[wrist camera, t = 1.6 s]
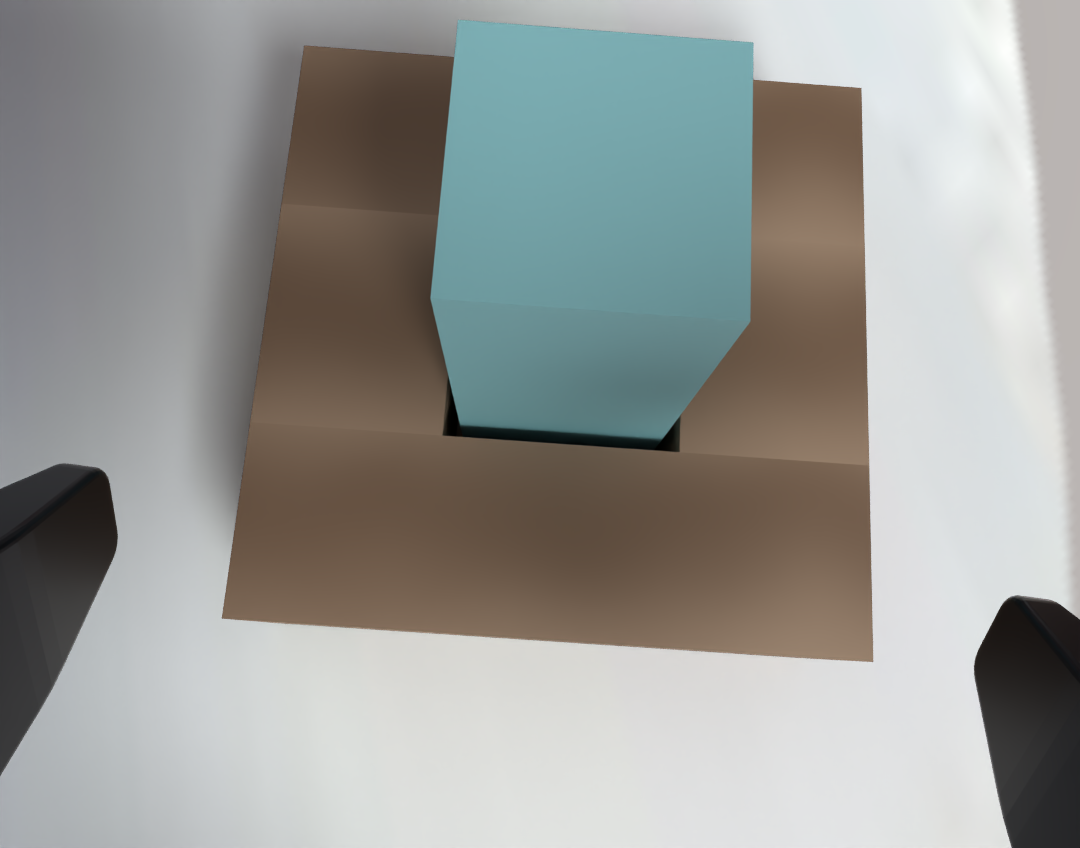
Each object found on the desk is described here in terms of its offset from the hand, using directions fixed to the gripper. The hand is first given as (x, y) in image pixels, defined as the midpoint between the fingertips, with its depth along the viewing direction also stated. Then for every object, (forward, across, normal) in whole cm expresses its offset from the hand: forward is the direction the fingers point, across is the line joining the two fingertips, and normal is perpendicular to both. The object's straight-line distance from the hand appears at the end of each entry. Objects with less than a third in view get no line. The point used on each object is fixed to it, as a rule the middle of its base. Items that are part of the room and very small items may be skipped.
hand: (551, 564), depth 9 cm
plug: (+12, 0, +4) cm, 13 cm away
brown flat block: (+12, 0, +5) cm, 13 cm away
